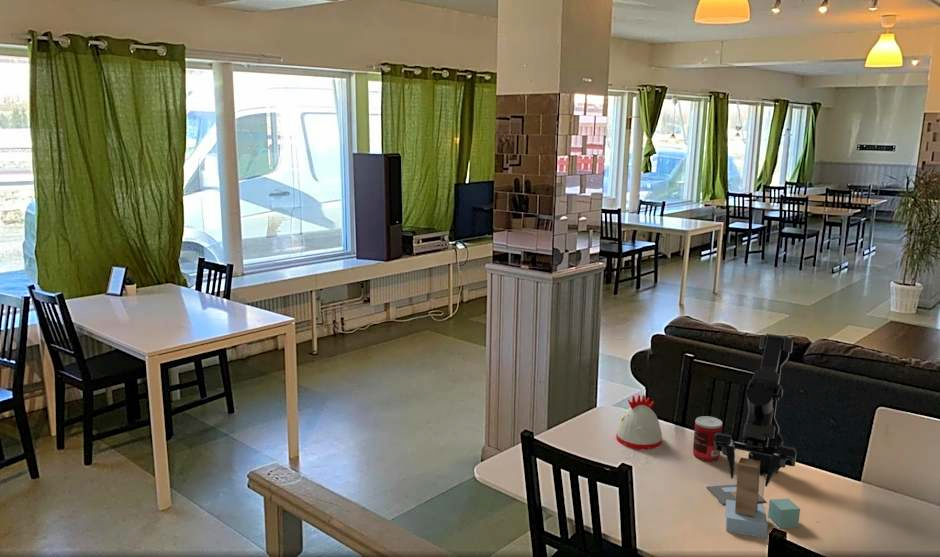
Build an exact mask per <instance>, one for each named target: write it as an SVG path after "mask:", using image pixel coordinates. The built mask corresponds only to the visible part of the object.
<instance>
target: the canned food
mask: <svg viewBox="0 0 940 557" xmlns="http://www.w3.org/2000/svg"><path fill="white" fill-rule="evenodd" d="M694 423H695V424H694V431H693V432H694V433H693V446H692V453H693V456H694V457H695V458H697V459H698V460H701V461H706V462H715V461H717V460H718V459H719V458H720V455H721V451H717V450H715V448H714V442H713V441H714V436H715V434H716V433H723V426H724V425H723V421H722V420H721V419H719V418H717V417H715V416H707V415H705V416H704V415H703V416H698V417H696V418H695V421H694Z"/></svg>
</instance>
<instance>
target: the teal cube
mask: <svg viewBox="0 0 940 557" xmlns="http://www.w3.org/2000/svg"><path fill="white" fill-rule="evenodd" d="M800 512H801V508H800V507H799V506H797V505H796V504H795V503H794V502H793V501H792V500H791V499H790V498H789V497H788V498H775V499H774V498H773V499H769V503H768V514H767V519H769V518H770V519H771V520H772V521H773V522H774V523H775V524H776V525H777V526H778V527H779V528H778V527H777V526H776V525H775V524H774V523H773V522H772V521H771V520H770V519H769V520H770V521H771V522H772V523H773V524H774V525H775V526H776V527H777V528H778V529H787V528H789V529H790V528H798V527H799V521H800V515H801V514H800Z"/></svg>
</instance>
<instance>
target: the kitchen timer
mask: <svg viewBox="0 0 940 557" xmlns="http://www.w3.org/2000/svg"><path fill="white" fill-rule="evenodd" d="M650 399H651V398H649V397H647V398H646V396H645V394H644V393H643V394H642V396H641V395H640V394H638V395H637V399H636V398H635V395H632V398H631V401H630V399H627V401H628V404H629V408H628V409H626V411H625V412H624V413H623V414H622V416H621V418H620V421H619V423H618V425H617V428H616V434H615V435H616V437H615V438H616V441H617V442H618V443H619V444H621V445H622V446H625V447H627V448H630V449H633V450H635V449H636V450H647V451H648V450H653V449H657V448H659V447H660V446H661V445H662V443H663V435H662V430H661V429H662V428H661V424H660V421H659V419H658V416H657V414H656V413H655V412H654V410H652V407H653V405H654V404H655V402H654V400H652V401H651V402H650ZM649 403H650V404H649ZM658 446H659V447H658ZM656 447H657V448H656Z"/></svg>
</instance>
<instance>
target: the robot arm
mask: <svg viewBox="0 0 940 557" xmlns="http://www.w3.org/2000/svg"><path fill="white" fill-rule="evenodd" d="M758 347H759V349H760V350H761V355H762V358H761V362H760V363H761V364H760V368H759V369H757V370H756V371H754V372H753V375H752V379H749V380H748V383H747V387H746V389H745V396H746V398H747V408H748V410H747V411H748V412H747V416H746V417H747V418H746V422H745V423H744V427H743V429H742V430H743V431H742V435H741V440H742V441H738V440H733V436H732V434H727V433H723V432H722V433H716V434H715V436H714V441H713V442H714V448H715V450H717V451H720V452H721V454H722V455H723V456H726V458H727V461H728V466H729V472H730V473H729V474H730V479H732V480H733V479H734V476H735V465H736V464H735V462H736V461H735V460H736V455H735V454H736V453H735V450H740V451H745V452H748V458H747V459H752V460H758V461H760V475H764V474H765V475H766V477H765V481H764V482H765V483H764V487H765V488H766V487H768V486H769V484H770V482H771V480H772V479H773V477H774V476H775V475H776V474H778V473H779V470H780V469H781V468H783V469H785V468H786V466H789V467H795V466H796V460H797V459H796V458H797V450H796V448H795V447H792V446H786V445H784V439H783V438H782V434H781V433H780V426H779V424H778V422H777V419H776V413H777V412H776V411H777V403H778V401H779V400H780V399H782V397H783V395H784V389H783V386H782V384H780V381H781V375H782V367H783V366H784V365H785V363H786V362H787V361H788V360H789V358H790V354H793V347H794V340H793V339H790V336H786V335H780V334H773V333H766V334H765V335H760V339H759V346H758Z"/></svg>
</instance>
